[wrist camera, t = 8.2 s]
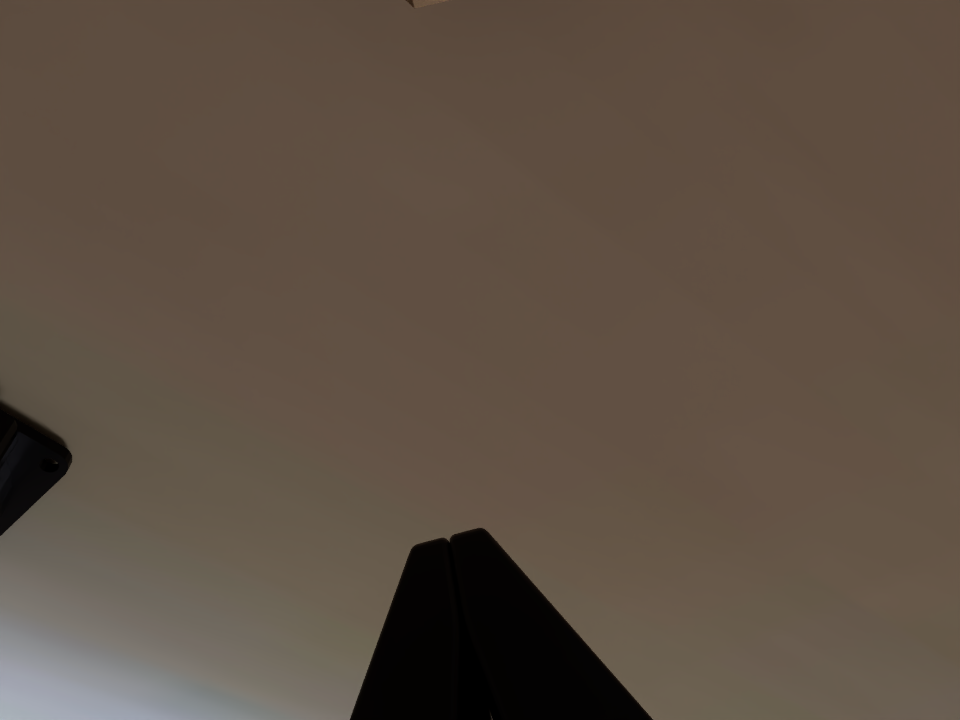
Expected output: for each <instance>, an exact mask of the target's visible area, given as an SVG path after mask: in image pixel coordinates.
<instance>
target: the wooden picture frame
mask: <svg viewBox="0 0 960 720" xmlns="http://www.w3.org/2000/svg"><path fill="white" fill-rule="evenodd" d="M406 1H407V2H408V3H409V4H410V5H411V6H413V7H414V8H419V7H423V6H427V5H432V4H436V3H441V2H445V1H449V0H406Z"/></svg>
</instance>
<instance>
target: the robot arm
mask: <svg viewBox="0 0 960 720" xmlns="http://www.w3.org/2000/svg"><path fill="white" fill-rule="evenodd" d="M46 458H50V459H53V460H55V461H56V462H57V463H58V464H52V463H49V462H47V461H46V460H45V459H46ZM71 463H72V455H71V453H70V451H69V450H68V449H67V448H65V447H64V446H62V445H61V444H59V443H57V442H56V441H54V440H52V439H50V438H49V437H47V436H45V435H44V434H42V433H40V432H38V431H37V430H35V429H33V428H32V427H30V426H28V425H27V424H25V423H23V422H21V421H20V420H18V419H16V418H15V417H13V416H11V415H9V414H8V413H6V412H4V411H3V410H1V409H0V536H1V535H2V534H3V533H4V532H5V531H6V530H7V529H8V528H9V527H10V526H11V525H12V524H13V523H15V522H16V521H17V520H18V519H19V518H20V517H21V516H22V515H23V514H24V513H25V512H26V511H27V510H28V509H29V508H30V507H31V506H32V505H33V504H34V503H36V502H37V501H38V500H39V499H40V498H41V497H42V496H43V495H44V494H45V493H46V492H47V491H48V490H49V489H50V488H51V487H52V486H53V485H54V484H55V483H57V482H58V481H59V480H60V479H61V478H62V477H63V476H64V475H65V474H66V472H67V470H68V469H69V467H70V465H71ZM491 716H492V717H491ZM492 719H493V720H653V719H652V718H651V717H650V716H649V715H648V713H647V712H646V711H645V710H644V709H643V708H642V707H641V705H640V704H639V703H638V702H637V701H636V700H635V699H634V697H633V696H632V695H631V694H630V693H629V692H628V691H627V689H626V688H625V687H624V686H623V685H622V684H621V683H620V682H619V680H618V679H617V678H616V677H615V676H614V675H613V674H612V672H611V671H610V670H609V669H608V668H607V667H606V666H605V664H604V663H603V662H602V661H601V660H600V659H599V658H598V656H597V655H596V654H595V653H594V652H593V651H592V650H591V648H590V647H589V646H588V645H587V644H586V643H585V642H584V641H583V639H582V638H581V637H580V636H579V635H578V634H577V633H576V631H575V630H574V629H573V628H572V627H571V626H570V625H569V623H568V622H567V621H566V620H565V619H564V618H563V617H562V615H561V614H560V613H559V612H558V611H557V610H556V609H555V608H554V606H553V605H552V604H551V603H550V602H549V601H548V600H547V598H546V597H545V596H544V595H543V594H542V593H541V592H540V590H539V589H538V588H537V587H536V586H535V585H534V584H533V582H532V581H531V580H530V579H529V578H528V577H527V576H526V574H525V573H524V572H523V571H522V570H521V569H520V568H519V567H518V565H517V564H516V563H515V562H514V561H513V560H512V559H511V557H510V556H509V555H508V554H507V553H506V552H505V551H504V549H503V548H502V547H501V546H500V545H499V544H498V543H497V541H496V540H495V539H494V538H493V537H492V536H491V535H490V534H489V532H488V531H486V530H485V529H483V528H477V529H473V530H469V531H465V532H461V533H458V534H454V535H452V536H451V538H450V543H449V541H448V540H447V539H446V538H439V539H435V540H431V541H427V542H424V543H420V544H417V545H415V546H414V547H413V548H412V549H411V551H410V553H409V556H408V559H407V561H406V564H405V567H404V570H403V572H402V575H401V578H400V581H399V584H398V586H397V589H396V592H395V595H394V598H393V600H392V603H391V606H390V609H389V612H388V614H387V617H386V620H385V623H384V626H383V628H382V631H381V634H380V637H379V640H378V642H377V645H376V648H375V651H374V654H373V656H372V659H371V662H370V665H369V667H368V670H367V673H366V676H365V679H364V681H363V684H362V687H361V690H360V693H359V695H358V698H357V701H356V704H355V707H354V709H353V712H352V715H351V718H350V720H492Z"/></svg>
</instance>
